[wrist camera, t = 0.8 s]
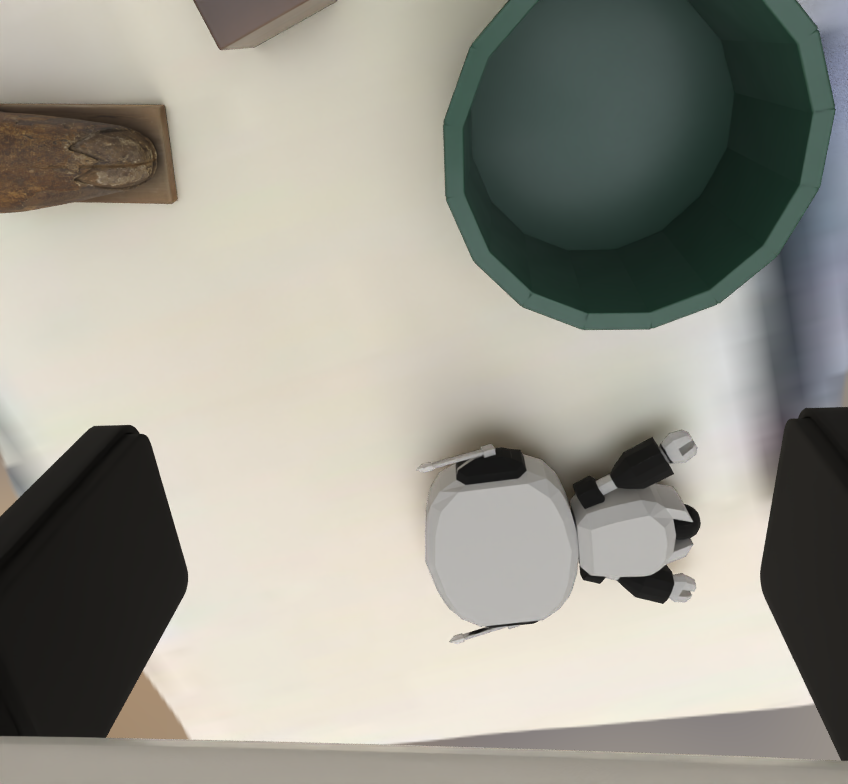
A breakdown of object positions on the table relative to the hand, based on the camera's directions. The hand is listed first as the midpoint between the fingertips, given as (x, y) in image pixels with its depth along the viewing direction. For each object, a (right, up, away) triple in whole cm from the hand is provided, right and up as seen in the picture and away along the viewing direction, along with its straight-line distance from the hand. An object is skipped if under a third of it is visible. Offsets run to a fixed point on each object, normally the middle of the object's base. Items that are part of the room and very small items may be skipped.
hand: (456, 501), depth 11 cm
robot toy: (+7, -5, +31) cm, 32 cm away
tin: (+7, +14, +21) cm, 26 cm away
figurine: (-19, +13, +24) cm, 34 cm away
